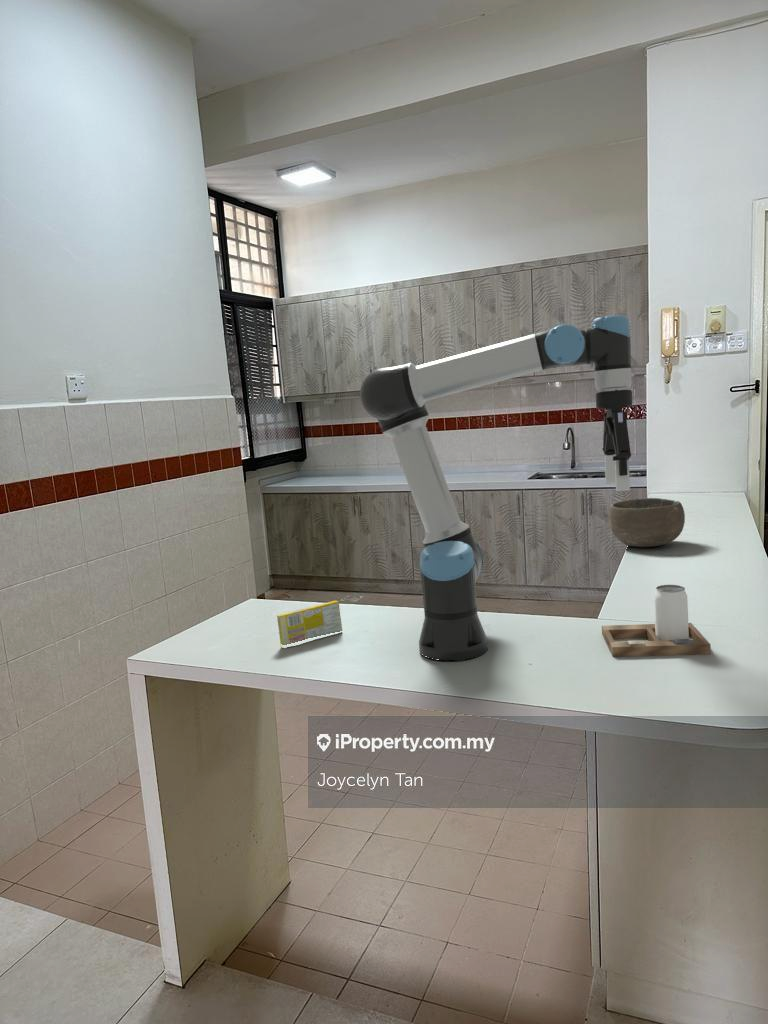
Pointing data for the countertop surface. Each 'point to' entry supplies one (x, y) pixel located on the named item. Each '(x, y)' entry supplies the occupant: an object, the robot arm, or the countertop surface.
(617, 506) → the bowl
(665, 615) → the can
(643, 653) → the socket board
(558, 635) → the countertop surface
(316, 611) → the candy box
